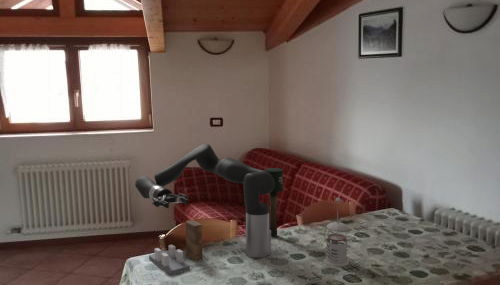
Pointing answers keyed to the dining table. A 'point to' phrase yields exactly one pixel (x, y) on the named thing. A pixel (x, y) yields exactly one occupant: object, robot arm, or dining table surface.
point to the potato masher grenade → (275, 197)
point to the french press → (336, 244)
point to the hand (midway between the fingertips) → (177, 203)
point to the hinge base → (170, 260)
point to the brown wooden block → (194, 240)
